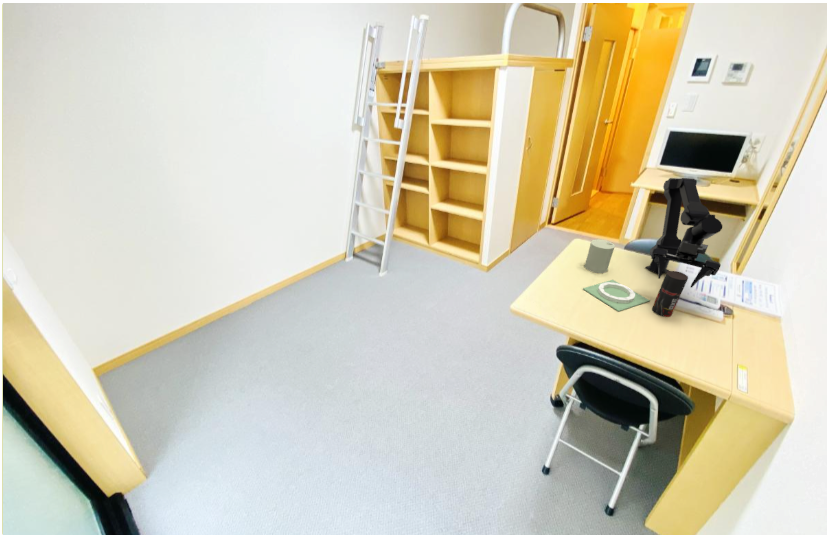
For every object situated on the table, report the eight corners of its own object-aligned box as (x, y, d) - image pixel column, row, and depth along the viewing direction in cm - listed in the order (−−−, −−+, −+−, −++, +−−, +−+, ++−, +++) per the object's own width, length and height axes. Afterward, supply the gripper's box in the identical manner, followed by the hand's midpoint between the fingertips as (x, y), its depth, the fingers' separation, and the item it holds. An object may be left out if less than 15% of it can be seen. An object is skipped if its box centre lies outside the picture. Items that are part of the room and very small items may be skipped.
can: (611, 273, 144) (619, 247, 139) (589, 273, 145) (596, 247, 139) (601, 262, 152) (609, 238, 147) (580, 262, 153) (587, 238, 147)
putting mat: (612, 280, 139) (613, 276, 138) (649, 301, 126) (651, 296, 125) (582, 289, 134) (583, 284, 133) (618, 311, 121) (619, 307, 120)
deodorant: (664, 318, 118) (680, 281, 110) (647, 309, 122) (662, 273, 115) (675, 314, 120) (692, 277, 112) (659, 305, 124) (674, 269, 117)
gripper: (662, 225, 118) (645, 265, 116) (732, 240, 107) (714, 284, 106) (659, 239, 127) (643, 276, 125) (723, 254, 116) (706, 295, 114)
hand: (674, 282), depth 117 cm, fingers open, 9 cm apart
